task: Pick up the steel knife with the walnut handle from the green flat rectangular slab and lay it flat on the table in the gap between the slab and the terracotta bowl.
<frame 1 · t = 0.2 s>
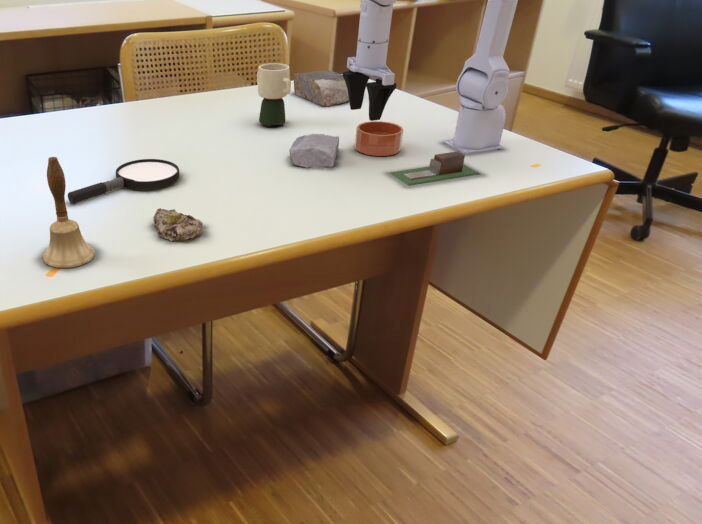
hand: (364, 114, 136), 10 cm above the table, tool pointing down, fingers open, 7 cm apart
stone block: (312, 159, 145), on the table
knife: (432, 173, 136), resting on green flat rectangular slab
geological specimen: (324, 98, 181), on the table
character mug: (272, 125, 163), on the table
magnifying glass: (124, 187, 133), on the table
mineral rock: (177, 230, 117), on the table
green flat rectangular slab: (434, 174, 136), on the table
hand bell: (69, 257, 109), on the table
bowl: (377, 150, 148), on the table
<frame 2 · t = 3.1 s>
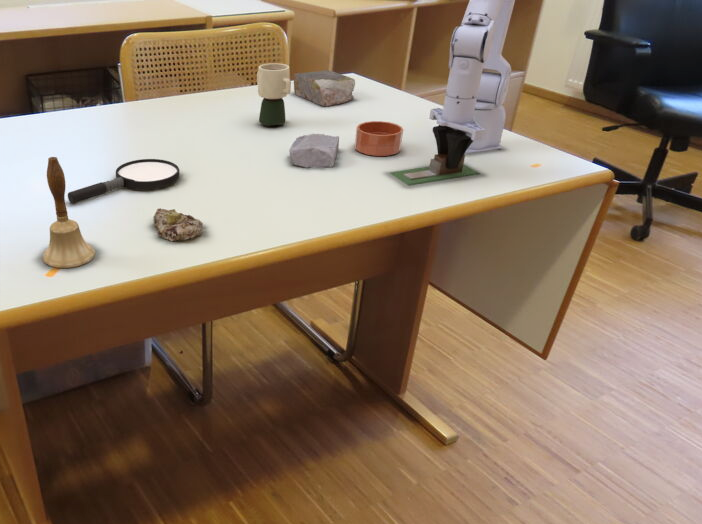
hand: (447, 165, 136), 2 cm above the table, tool pointing down, fingers closed on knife, 2 cm apart
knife: (432, 173, 136), resting on green flat rectangular slab, touching gripper
everything else where it was.
when the fingers open (1 cm above the table, at t = 6.9 s): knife stays where it is, on the table.
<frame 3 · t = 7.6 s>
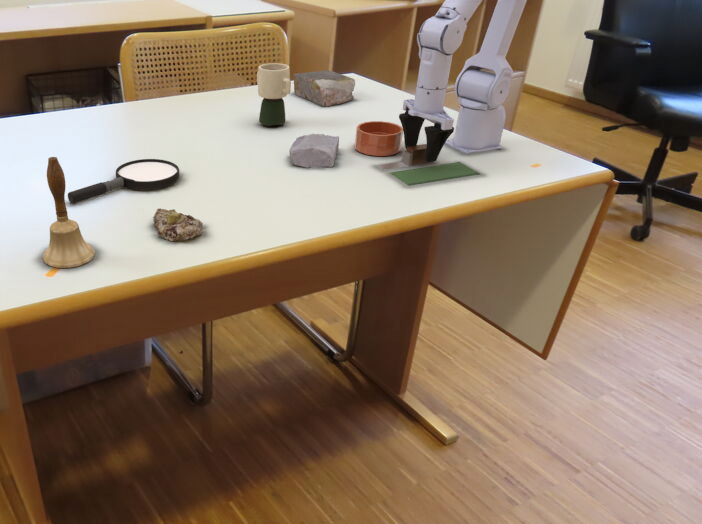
hand: (420, 154, 141), 2 cm above the table, tool pointing down, fingers open, 7 cm apart
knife: (405, 165, 141), on the table
everything else where it was.
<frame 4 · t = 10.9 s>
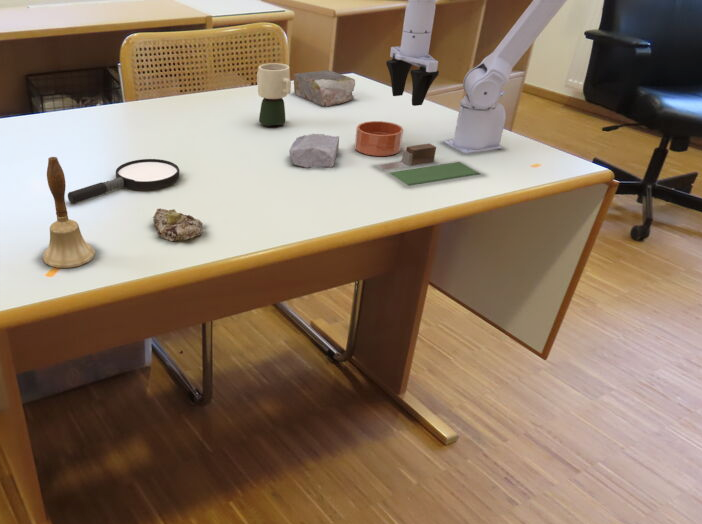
hand: (407, 100, 146), 9 cm above the table, tool pointing down, fingers open, 7 cm apart
nothing on the table moved.
at the end: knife 0.0 cm from the target spot, on the table; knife tilted 0°; the gripper is holding nothing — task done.
